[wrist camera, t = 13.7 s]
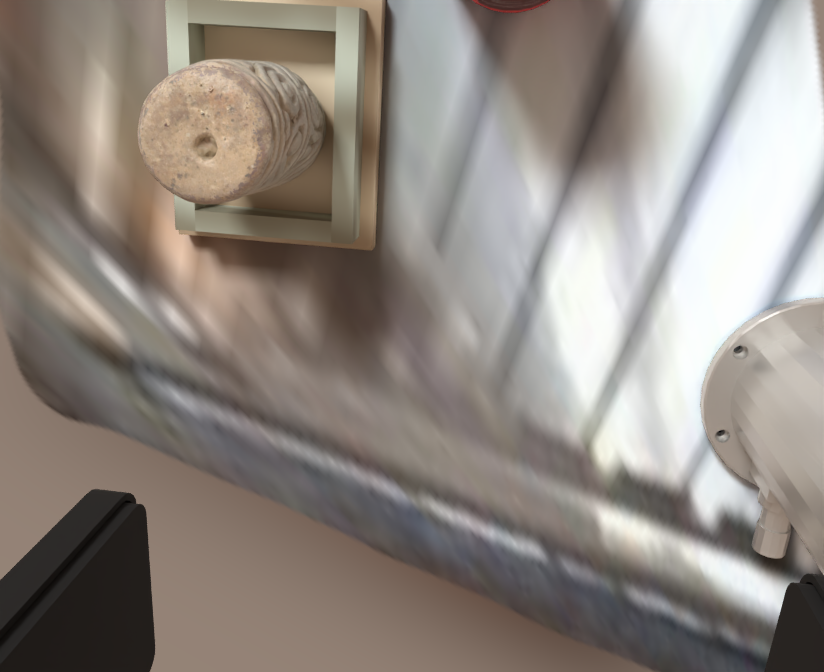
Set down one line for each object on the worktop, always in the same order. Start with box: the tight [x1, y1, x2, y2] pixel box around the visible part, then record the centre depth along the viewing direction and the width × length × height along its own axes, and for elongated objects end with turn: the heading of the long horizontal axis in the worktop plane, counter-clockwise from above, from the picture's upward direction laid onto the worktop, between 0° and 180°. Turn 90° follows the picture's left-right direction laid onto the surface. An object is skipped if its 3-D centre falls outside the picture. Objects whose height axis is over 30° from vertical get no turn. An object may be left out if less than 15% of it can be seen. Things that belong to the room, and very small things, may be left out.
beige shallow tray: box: [165, 0, 386, 250], centre depth 43 cm, size 14×12×4 cm
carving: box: [138, 59, 326, 204], centre depth 38 cm, size 6×8×12 cm
